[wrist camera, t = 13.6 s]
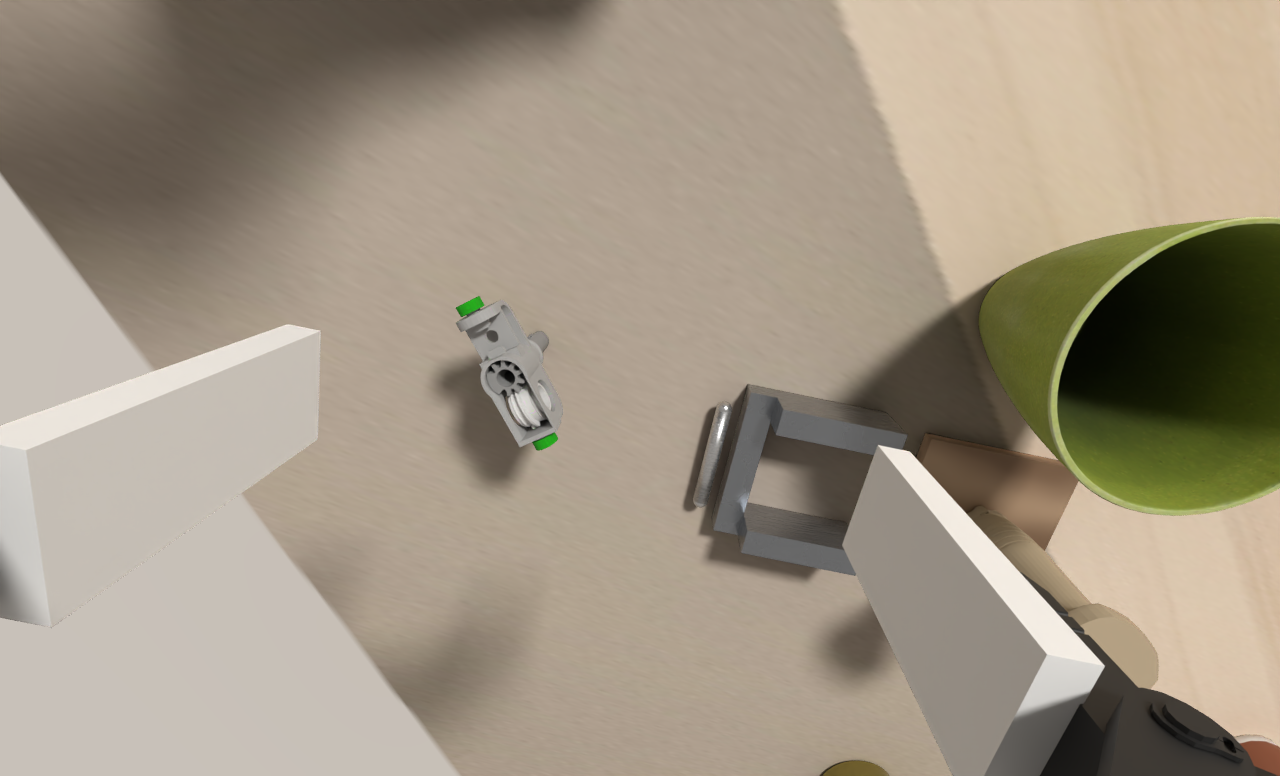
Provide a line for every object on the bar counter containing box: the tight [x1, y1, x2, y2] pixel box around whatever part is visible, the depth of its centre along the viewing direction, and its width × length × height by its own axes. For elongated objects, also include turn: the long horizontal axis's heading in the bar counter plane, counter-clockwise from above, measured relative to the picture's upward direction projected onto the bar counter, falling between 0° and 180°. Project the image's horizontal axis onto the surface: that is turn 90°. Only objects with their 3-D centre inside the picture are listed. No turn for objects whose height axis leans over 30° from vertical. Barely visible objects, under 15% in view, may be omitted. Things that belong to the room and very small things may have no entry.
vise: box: [693, 384, 908, 576], centre depth 46 cm, size 12×13×4 cm
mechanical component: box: [456, 296, 563, 450], centre depth 41 cm, size 3×10×10 cm, turn 26°
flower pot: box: [979, 217, 1280, 516], centre depth 36 cm, size 15×15×16 cm
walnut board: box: [916, 433, 1079, 551], centre depth 48 cm, size 12×12×1 cm
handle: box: [966, 506, 1158, 689], centre depth 41 cm, size 5×6×15 cm
